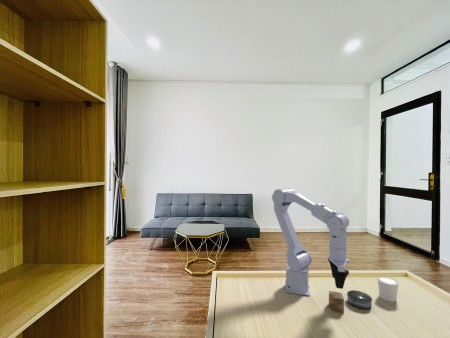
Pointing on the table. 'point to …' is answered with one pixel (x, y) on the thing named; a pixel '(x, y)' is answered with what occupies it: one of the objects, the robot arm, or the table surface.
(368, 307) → the tin
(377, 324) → the table surface
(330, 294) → the walnut block
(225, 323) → the table surface
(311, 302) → the table surface
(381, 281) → the grey and white cylinder
